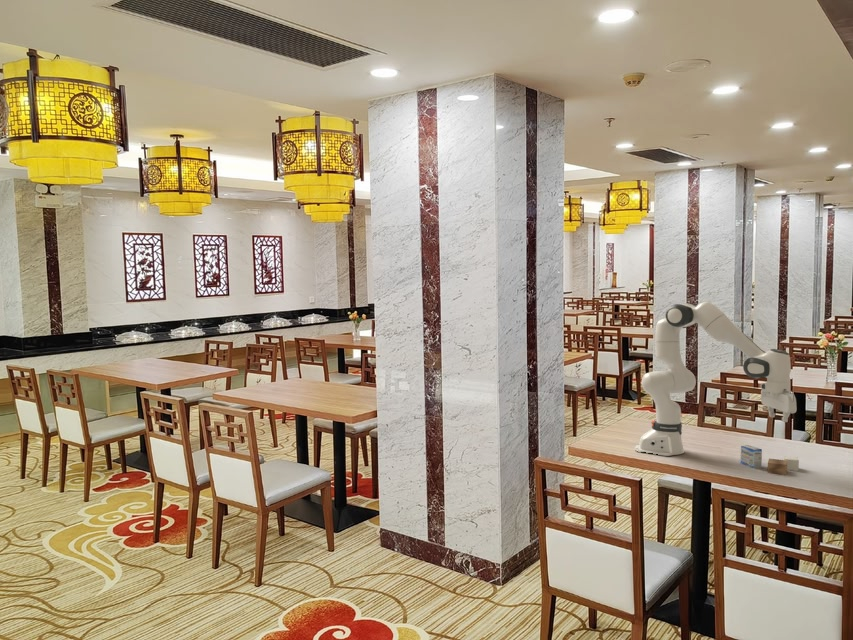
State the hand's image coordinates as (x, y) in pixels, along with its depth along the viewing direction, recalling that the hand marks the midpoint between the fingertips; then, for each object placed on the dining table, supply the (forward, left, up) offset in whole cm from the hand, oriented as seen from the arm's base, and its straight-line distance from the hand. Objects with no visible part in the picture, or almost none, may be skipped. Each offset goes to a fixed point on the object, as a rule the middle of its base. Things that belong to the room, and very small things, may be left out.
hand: (778, 419), depth 285 cm
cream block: (+6, +7, -23) cm, 25 cm away
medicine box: (-10, +7, -23) cm, 26 cm away
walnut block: (0, 0, -23) cm, 23 cm away
